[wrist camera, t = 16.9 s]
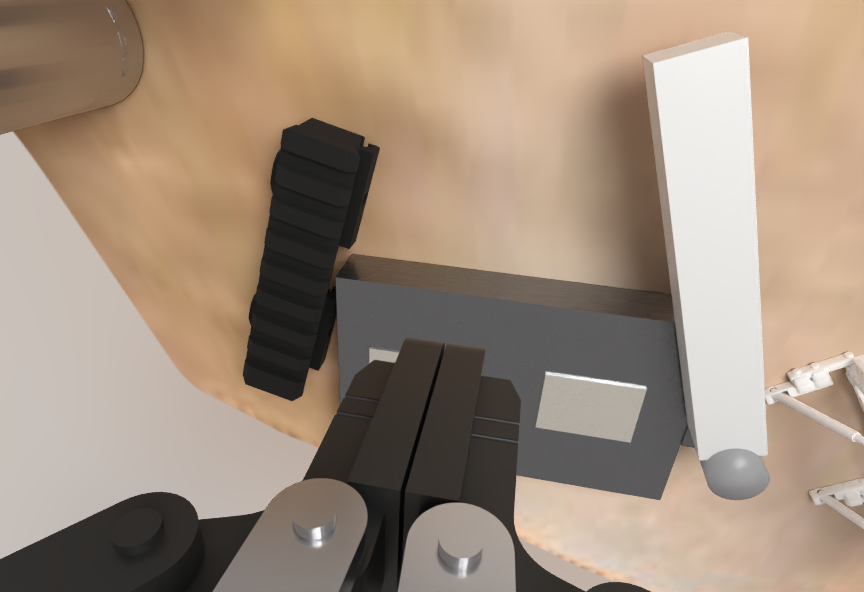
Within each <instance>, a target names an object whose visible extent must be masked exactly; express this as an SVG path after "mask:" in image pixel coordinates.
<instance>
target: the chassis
mask: <svg viewBox="0 0 864 592" xmlns="http://www.w3.org/2000/svg"><path fill="white" fill-rule="evenodd" d="M336 301H337V328H338V355H339V382H340V404H341V402H342V400H343V398H345V394H346V392H347V390H348V388H349V386H350V384H351V382H352V380H353V378H354V376H355V374H357V373H358V372H359V371H360V370H362V369H363V368H364V367H366V366H367V365H368V364H369V363H371V362H372V361H373V360H380V361H387V362H393V363H395V362H396V359H397V357H398V354H399V352H400V350H401V347H402V345H403V342H404V340H405V338H406V337H407V338H414V339H421V340H428V341H435V342H442V343H445V348H446V345H447V343H450V344H457V345H464V346H470V347H477V348H484V349H486V352H485V361H484V369H483V376H487V377H493V378H500V379H507V380H511V382H512V384H513V386H514V388H515V390H516V392H517V394H518V395H519V397H520V399H521V409H520V423H519V440H518V456H517V471H516V475H518V476H524V477H530V478H535V479H541V480H547V481H553V482H558V483H564V484H570V485H576V486H581V487H587V488H593V489H599V490H605V491H610V492H616V493H622V494H628V495H633V496H639V497H645V498H651V499H657V500H660V499H661V496H662V494H663V491H664V488H665V486H666V483H667V480H668V477H669V475H670V472H671V469H672V466H673V464H674V461H675V458H676V455H677V453H678V450H679V447H680V445H681V446H687V447H693V448H695V446H694V443H693V439H692V436H691V433H690V430H689V427H688V423H687V415H686V407H685V399H684V391H683V382H682V374H681V366H680V358H679V350H678V342H677V334H676V326H675V318H674V309H673V301H672V295H671V294H663V293H655V292H647V291H640V290H632V289H624V288H616V287H608V286H600V285H592V284H584V283H577V282H569V281H561V280H553V279H545V278H537V277H529V276H521V275H514V274H506V273H498V272H490V271H482V270H474V269H466V268H458V267H451V266H443V265H435V264H427V263H419V262H411V261H403V260H395V259H388V258H380V257H372V256H364V255H356V254H352V256H351V257H350V258H349V260H348V261H347V263H346V264H345V265H344V267H343V268H342V269H341V271H340V272H339V274H338V275H337V276H336Z"/></svg>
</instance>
